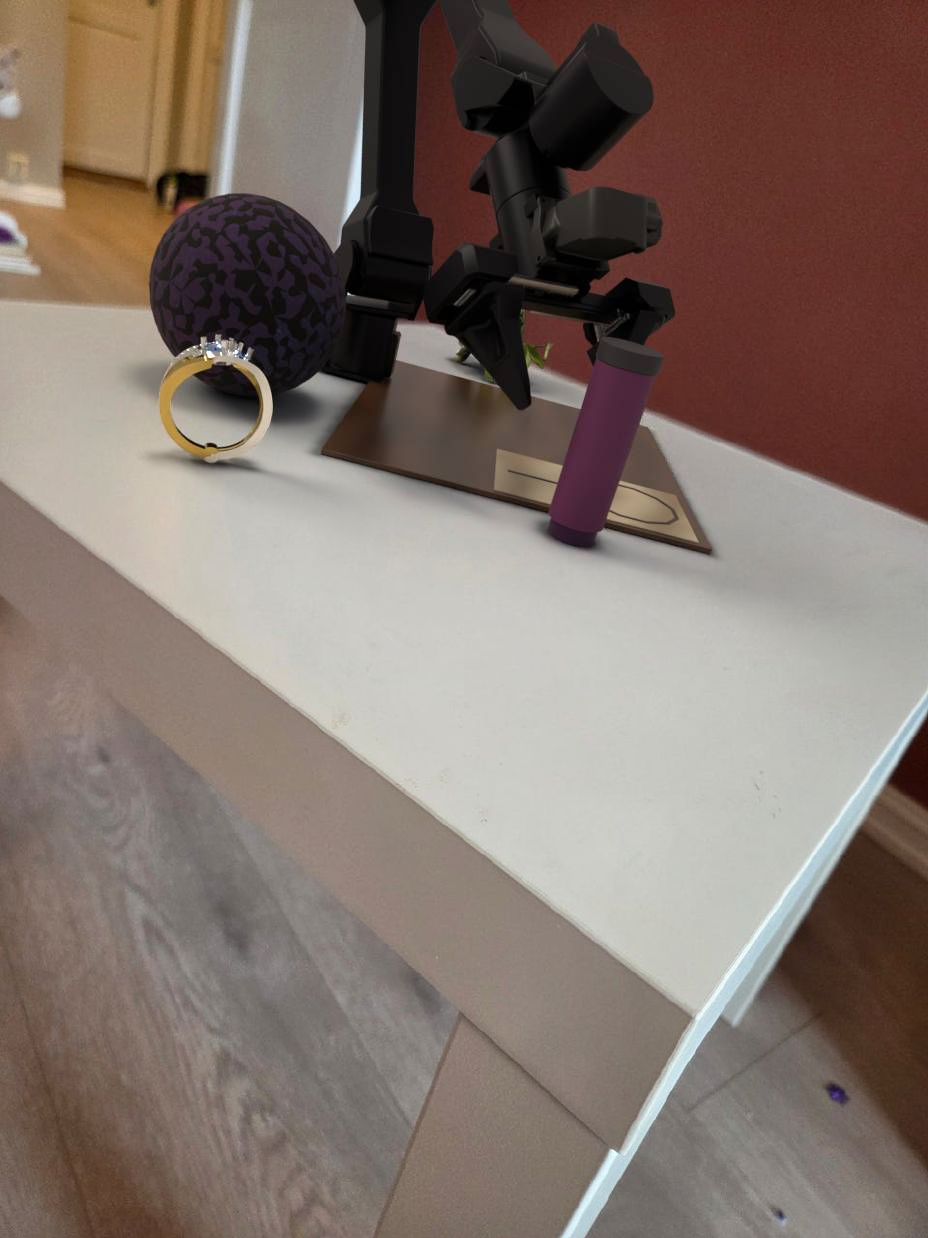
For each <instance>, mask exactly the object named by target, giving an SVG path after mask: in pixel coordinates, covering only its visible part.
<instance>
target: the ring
mask: <svg viewBox="0 0 928 1238" xmlns="http://www.w3.org/2000/svg"><path fill="white" fill-rule="evenodd" d="M221 336H222V335H221V334H217V333H216V336H215V342H207V338H206V337H201V344H198V345H195V346H193V347H190V348H188V349H186V350H184V351H183V352H181V353H180V354H179V355H178V356H177V357H176V358H175V357H174V359H173V360H172V361H171V363H170V364H169V366H168V367H167V369H166V371H165V373H164V375H163V378H162V379H161V383H160V387H159V391H158V392H159V393H158V409H159V410H158V411H159V416H160V419H161V423H162V425H163V428H164V430H165V431H166V433H167V435H168V436H169V438H170V439H171V440H172V441H173V442H174V444H176V445H177V446H178V447H180V448H181V449H182V450H183V451H185V452H187V453H189V454H191V455H193V456H195V457H198V458H202V459H203V460H204V462H206V463H208V464H209V463H210V464H215V463H217V462H218V461H222V460H231V459H234V458H237V457H240V456H242V455H244V454H246V453H248V452H249V451H251V450H252V449H253V448H254V447H256V445H258V444H259V443H260V441H261V440H262V439H263V437H264V436H265V434H266V433H267V431H268V429H269V427H270V425H271V421H272V417H273V397H272V396H273V395H271V390H270V387H269V384H268V381H267V379H266V377H265V375H264V373H263V372H262V371H261V369H260V368H259V367H258V366H257V365H256V364H254V363H253V362H252V361H250V358H251V356H252V353H253V351H254V349H253V348H251V347H249V349H248V351H247V353H246V354H245V353H242V349H243V346H244V343H243V342H240V343H239V346H238V344H237V343H236V341H235V340H234V338H231V337H230V338H229V340H222V341H221ZM237 346H238V349H237ZM199 355H204V357H198V358H195V357H197V356H199ZM193 358H194V359H193ZM212 364H214V365H231V364H232V365H233V366H234V367H235V368H237V369H238V370H240V371H241V372H242V373H243V374H245V375H246V376H247V377H248V378H249V379H250V381H251V382H252V383H253V385H254V386H255V388H256V390H257V393H258V395H259V397H258V400H259V412H258V416H257V420H256V422H255V424H254V426H253V427H252V429H251V431H250V432H249V433H248V434H247V435H246V436H245V437H244V438H242V439H241V440H240V441H237V442H236V443H233V444H230V445H225V446H218V445H217V444H216V443H214V442H206V443H204V444H201V443H198V442H195V441H194V440H192V439H190V438H189V437H187V436H186V435H185V434H183V432H182V431H181V430H180V429H179V427H178V426H177V425H176V423H175V420H174V419H173V416H172V409H171V402H172V399H173V395H174V394H175V391H176V390H177V388H178V387H179V385H181V384H182V383H183V382H184V381H185V380H186V379H188V378H190V377H191V376H194V375H193V374H195V373H197V372H200V371H202V370H205V369H209V368H211V367H212Z"/></svg>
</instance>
